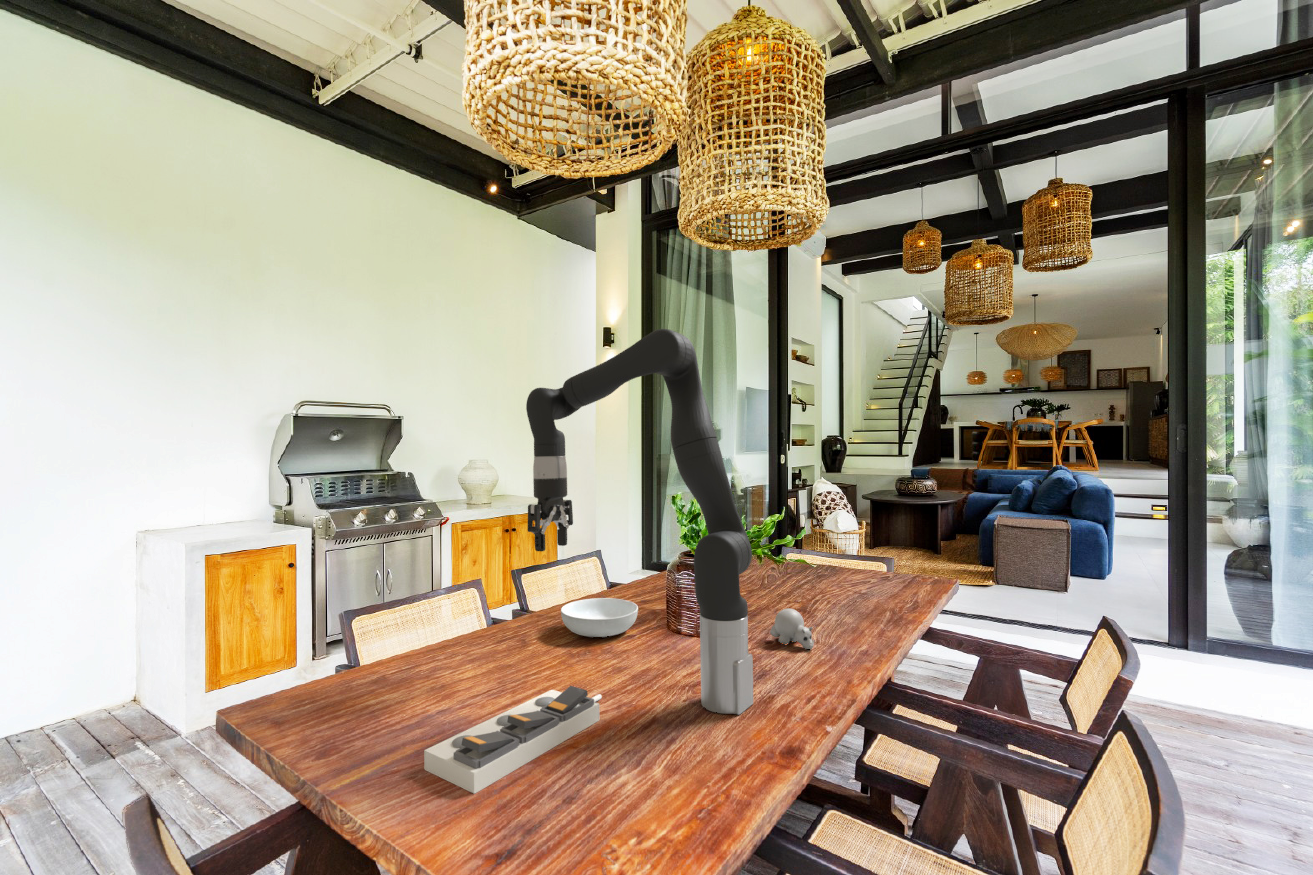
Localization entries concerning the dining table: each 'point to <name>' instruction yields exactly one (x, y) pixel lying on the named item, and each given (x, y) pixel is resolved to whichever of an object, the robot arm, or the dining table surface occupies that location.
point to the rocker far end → (486, 741)
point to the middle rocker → (529, 719)
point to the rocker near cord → (567, 700)
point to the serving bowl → (599, 616)
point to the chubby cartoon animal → (792, 628)
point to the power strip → (526, 744)
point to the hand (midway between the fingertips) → (551, 548)
